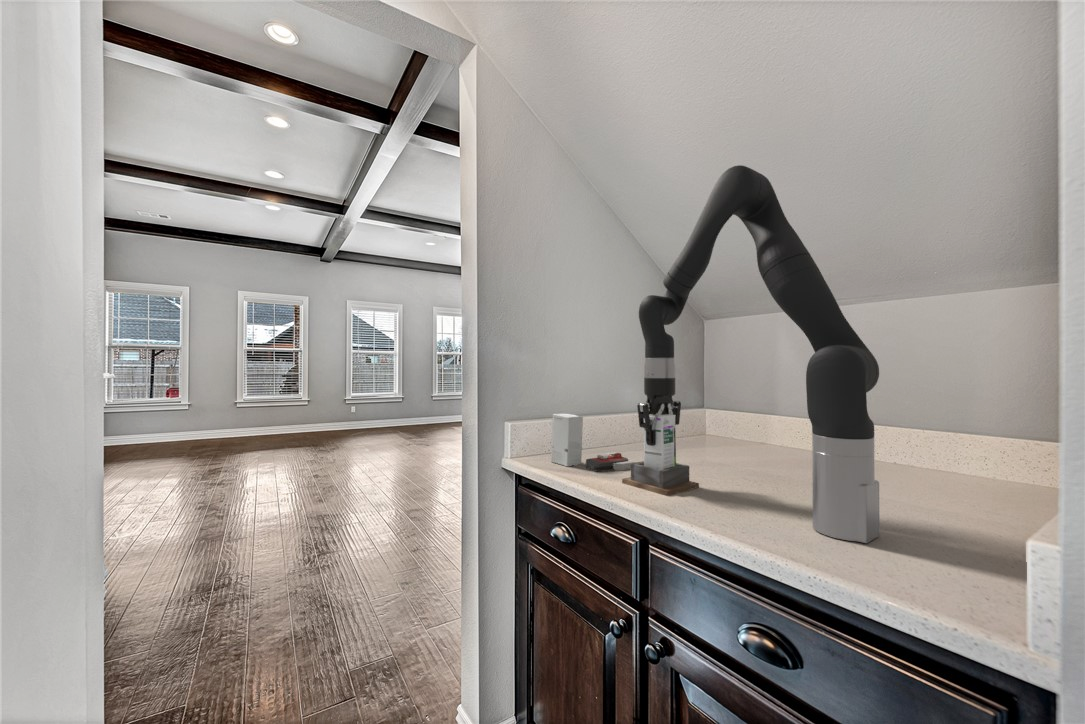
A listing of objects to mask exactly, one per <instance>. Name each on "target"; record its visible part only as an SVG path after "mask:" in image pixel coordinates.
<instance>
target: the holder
mask: <svg viewBox="0 0 1085 724" xmlns="http://www.w3.org/2000/svg"><path fill="white" fill-rule="evenodd" d="M638 462H639V463H635V462H634V463H633V464H631V469H630V476H629V477H625V478H622V480H621V482H622V484H625V485H627V486H632V487H636V488H640V489H643V490H645V491H649V492H652V493H656V494H659V495H663V496H671V495H675V494H678V493H682V492H687V491H689V490H693V489H697V488H699V487H700V483H699V482H695V481H692V480H690V465H686V464H682V463H677V462H676V467H675V468H670V469H665V470H659V469H655V468H651V467H647V466H644V462H642V461H638Z"/></svg>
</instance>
